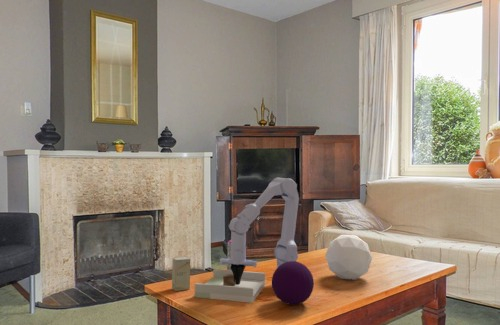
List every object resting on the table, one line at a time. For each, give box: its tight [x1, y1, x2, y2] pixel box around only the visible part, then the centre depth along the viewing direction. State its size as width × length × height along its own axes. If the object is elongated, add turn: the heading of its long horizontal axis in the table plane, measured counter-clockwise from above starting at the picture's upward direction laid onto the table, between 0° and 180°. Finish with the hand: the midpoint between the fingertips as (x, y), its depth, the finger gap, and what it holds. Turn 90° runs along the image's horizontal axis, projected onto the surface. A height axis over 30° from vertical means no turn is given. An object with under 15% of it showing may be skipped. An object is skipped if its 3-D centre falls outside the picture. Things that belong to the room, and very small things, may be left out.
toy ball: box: [271, 261, 315, 306], centre depth 149 cm, size 15×15×15 cm
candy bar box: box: [226, 239, 231, 270], centre depth 183 cm, size 11×5×16 cm, turn 168°
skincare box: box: [171, 256, 191, 292], centre depth 165 cm, size 6×4×12 cm
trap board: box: [194, 268, 266, 304], centre depth 163 cm, size 22×22×5 cm
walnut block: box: [223, 274, 236, 286], centre depth 163 cm, size 4×4×4 cm
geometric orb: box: [325, 234, 373, 281], centre depth 183 cm, size 19×20×20 cm
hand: (238, 283), depth 163 cm, fingers closed
